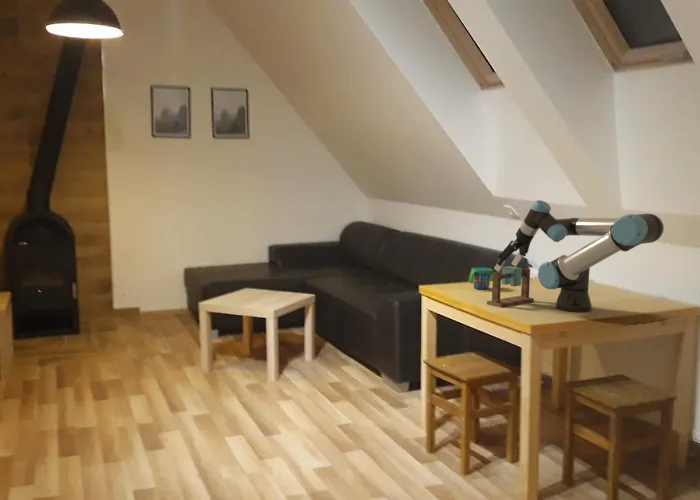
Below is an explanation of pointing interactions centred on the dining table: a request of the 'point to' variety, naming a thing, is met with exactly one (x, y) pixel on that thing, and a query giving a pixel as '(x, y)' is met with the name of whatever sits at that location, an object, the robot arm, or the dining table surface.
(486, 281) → the snack cup
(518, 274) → the link
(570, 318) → the dining table surface
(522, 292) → the stand
